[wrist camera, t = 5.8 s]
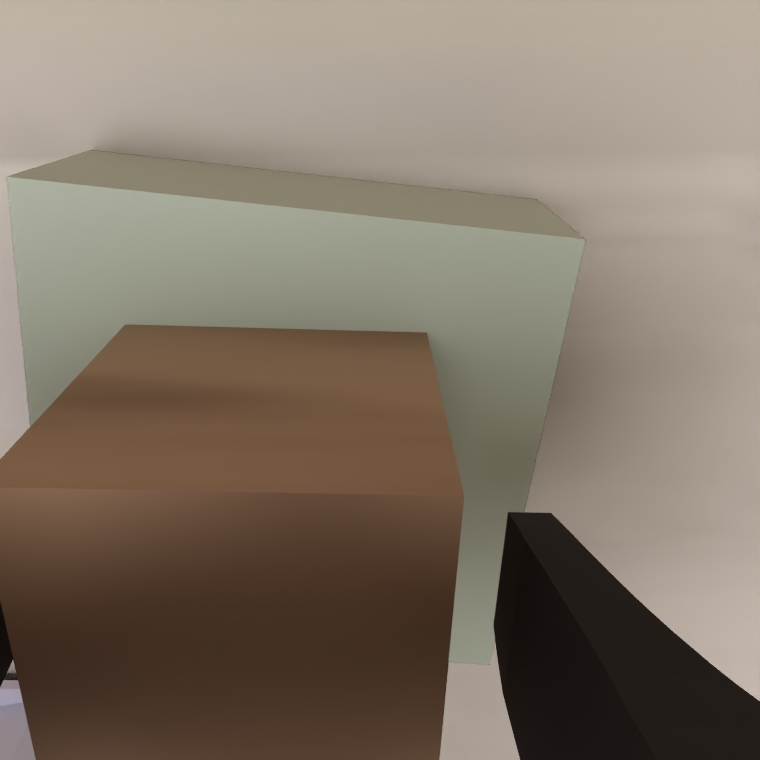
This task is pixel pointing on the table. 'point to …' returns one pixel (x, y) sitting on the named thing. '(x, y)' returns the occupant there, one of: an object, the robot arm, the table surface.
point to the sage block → (314, 299)
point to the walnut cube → (235, 549)
